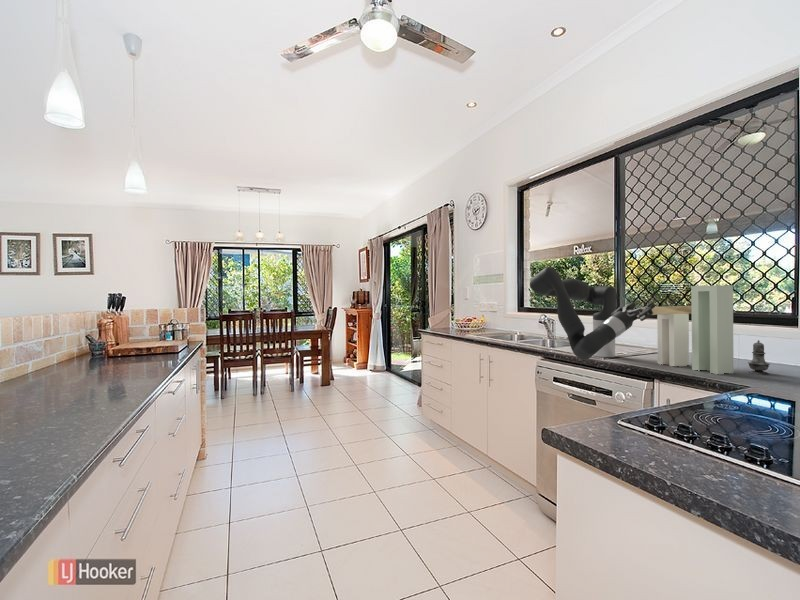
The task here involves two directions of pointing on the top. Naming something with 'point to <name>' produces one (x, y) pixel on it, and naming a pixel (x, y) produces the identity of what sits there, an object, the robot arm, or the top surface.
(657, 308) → the oak slat
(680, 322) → the cream shelf
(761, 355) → the salt shaker
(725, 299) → the sage stand
